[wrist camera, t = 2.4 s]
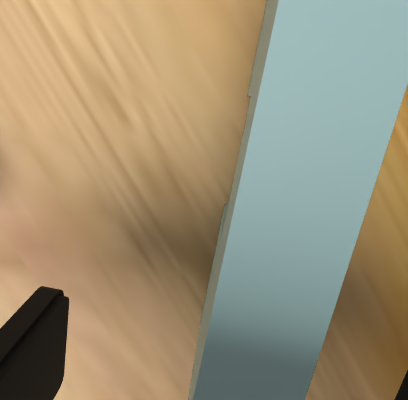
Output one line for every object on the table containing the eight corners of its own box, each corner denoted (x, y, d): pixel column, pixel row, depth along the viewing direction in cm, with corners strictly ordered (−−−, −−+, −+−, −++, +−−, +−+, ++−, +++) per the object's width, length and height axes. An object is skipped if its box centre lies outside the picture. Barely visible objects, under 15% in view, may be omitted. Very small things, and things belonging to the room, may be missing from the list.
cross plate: (282, -75, 13) (350, -331, 5) (354, -63, 13) (534, -304, 5) (201, 318, 17) (172, 497, 10) (253, 329, 17) (266, 518, 10)
